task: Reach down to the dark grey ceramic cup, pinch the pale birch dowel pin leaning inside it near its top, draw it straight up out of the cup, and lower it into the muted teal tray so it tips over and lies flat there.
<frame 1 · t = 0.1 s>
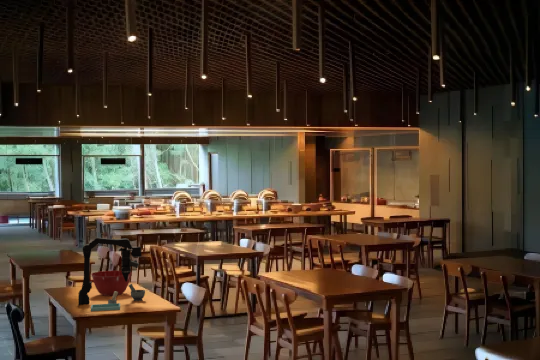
hand: (126, 280, 477), 15 cm above the table, tool pointing down, fingers open, 9 cm apart
grey cup: (112, 306, 464), on the table
teal tray: (105, 309, 454), on the table
mortar and pestle: (137, 301, 481), on the table
birch pin: (111, 305, 464), point 1 cm above the table, touching grey cup
mixing bowl: (112, 294, 508), on the table
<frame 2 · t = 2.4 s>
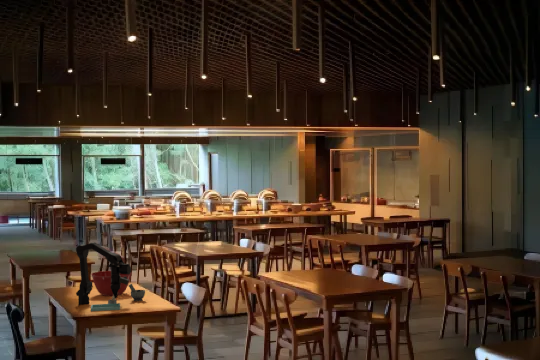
hand: (115, 297, 465), 6 cm above the table, tool pointing down, fingers closed on birch pin, 2 cm apart
birch pin: (111, 305, 464), point 1 cm above the table, touching grey cup, gripper
everything else where it was.
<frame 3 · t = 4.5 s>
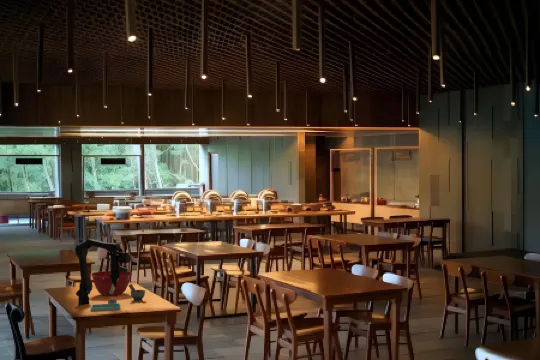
hand: (115, 286, 464), 13 cm above the table, tool pointing down, fingers closed on birch pin, 2 cm apart
birch pin: (110, 294, 464), point 8 cm above the table, touching gripper
everything else where it was.
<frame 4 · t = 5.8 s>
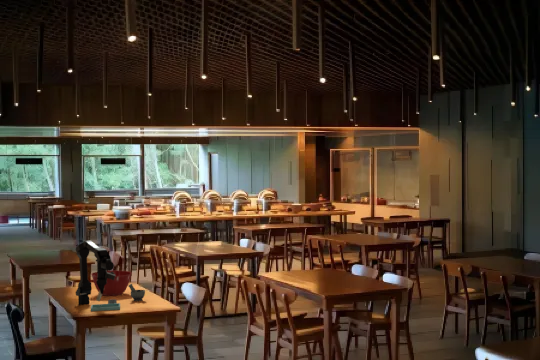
hand: (102, 293, 453), 10 cm above the table, tool pointing down, fingers closed on birch pin, 2 cm apart
birch pin: (97, 301, 453), point 6 cm above the table, touching gripper
everything else where it was.
when the fingers open (7 cm above the table, at t = 6.6 s): birch pin stays where it is and tips over, resting on teal tray.
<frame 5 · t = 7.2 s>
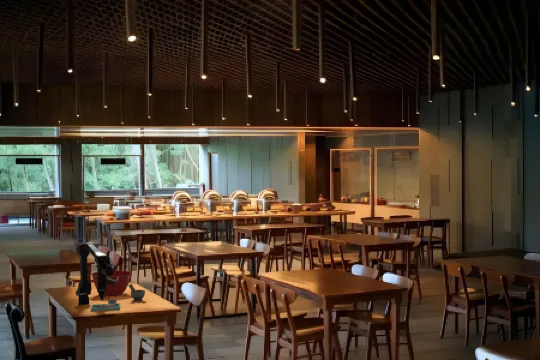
hand: (102, 299, 453), 7 cm above the table, tool pointing down, fingers open, 9 cm apart
birch pin: (99, 306, 453), point 2 cm above the table, tilted 72°, touching teal tray
everything else where it was.
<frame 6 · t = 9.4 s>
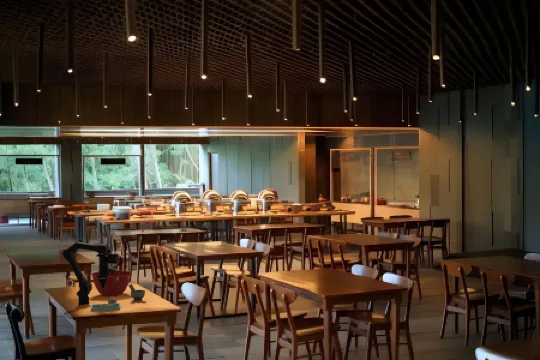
hand: (103, 287, 469), 12 cm above the table, tool pointing down, fingers open, 9 cm apart
nothing on the table moved.
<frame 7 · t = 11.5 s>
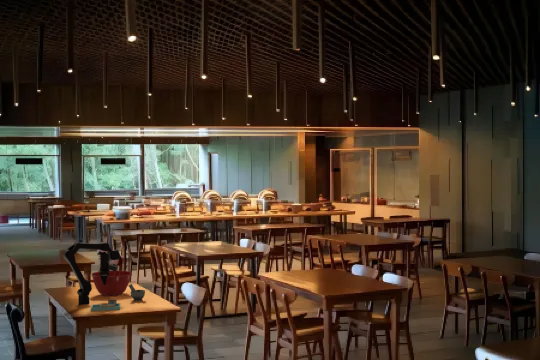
hand: (104, 284, 481), 12 cm above the table, tool pointing down, fingers open, 9 cm apart
nothing on the table moved.
at the end: birch pin touching teal tray; birch pin tilted 72°; birch pin inside the target area on the teal tray (3.9 cm from its centre), point 1.9 cm above the teal tray's base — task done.
